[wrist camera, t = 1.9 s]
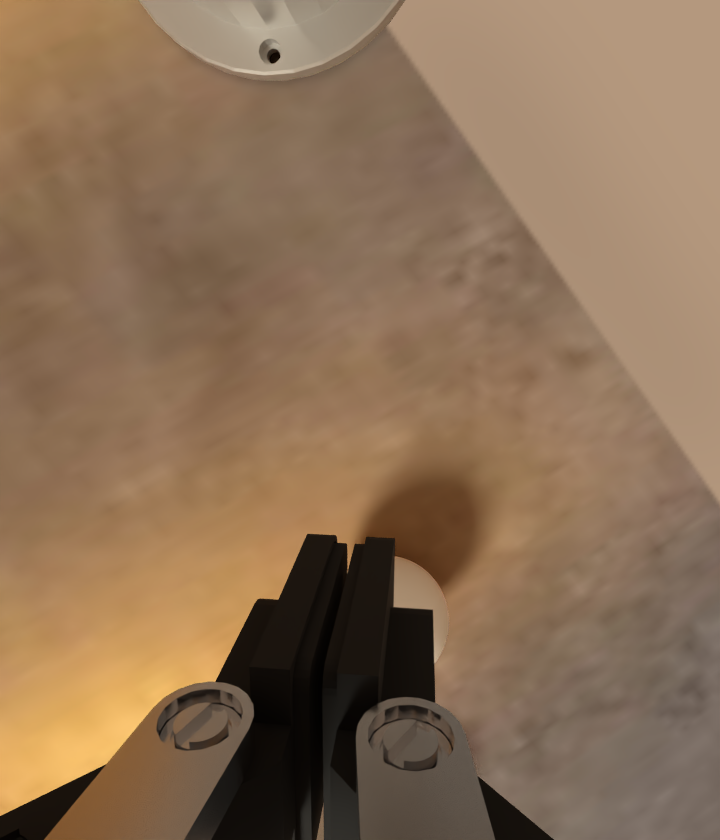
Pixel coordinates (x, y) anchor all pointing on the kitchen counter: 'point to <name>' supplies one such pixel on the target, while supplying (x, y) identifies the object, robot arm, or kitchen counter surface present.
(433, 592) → the cue ball
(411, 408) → the kitchen counter surface
